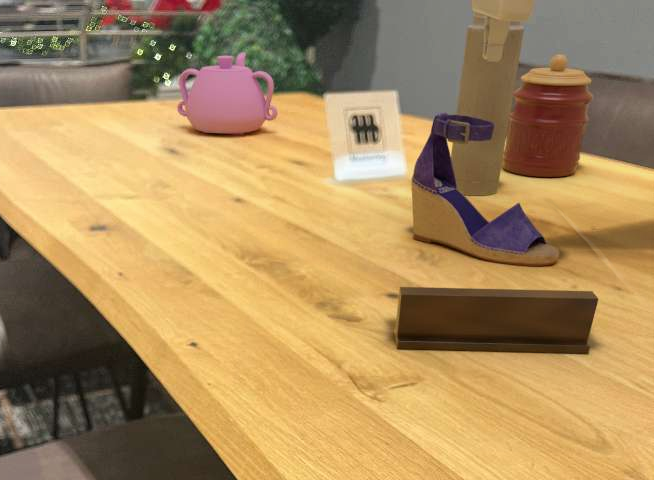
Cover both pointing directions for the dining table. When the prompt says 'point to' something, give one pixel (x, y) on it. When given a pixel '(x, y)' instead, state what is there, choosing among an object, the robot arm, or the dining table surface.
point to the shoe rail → (494, 319)
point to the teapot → (226, 98)
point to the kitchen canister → (548, 121)
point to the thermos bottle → (485, 107)
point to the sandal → (468, 203)
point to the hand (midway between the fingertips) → (491, 60)
